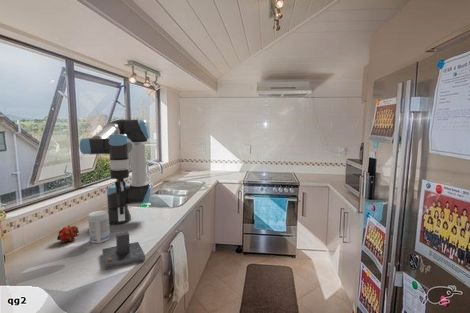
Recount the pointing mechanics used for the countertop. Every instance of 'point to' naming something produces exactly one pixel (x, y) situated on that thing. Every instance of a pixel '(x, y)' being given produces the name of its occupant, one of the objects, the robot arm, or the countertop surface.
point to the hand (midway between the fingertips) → (121, 220)
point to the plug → (122, 243)
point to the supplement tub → (99, 226)
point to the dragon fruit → (67, 233)
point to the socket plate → (122, 256)
